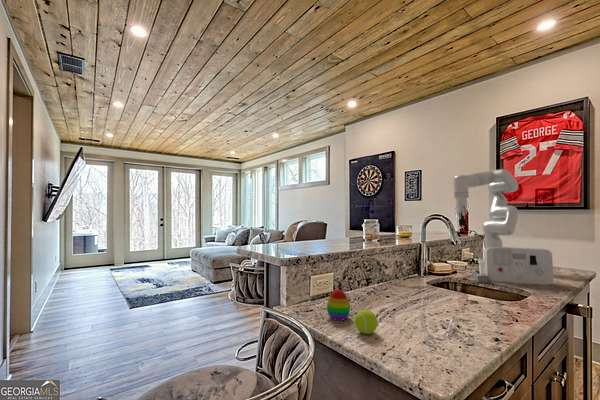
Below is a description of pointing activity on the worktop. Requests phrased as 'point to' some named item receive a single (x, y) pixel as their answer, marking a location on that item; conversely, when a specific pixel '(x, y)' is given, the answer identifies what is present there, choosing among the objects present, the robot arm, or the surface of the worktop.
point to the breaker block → (480, 277)
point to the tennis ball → (365, 321)
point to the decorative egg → (338, 305)
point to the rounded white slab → (519, 265)
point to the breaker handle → (481, 267)
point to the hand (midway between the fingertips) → (462, 225)
